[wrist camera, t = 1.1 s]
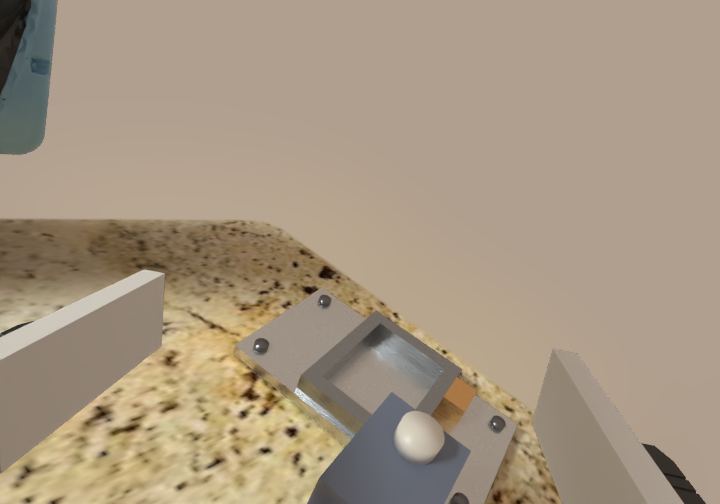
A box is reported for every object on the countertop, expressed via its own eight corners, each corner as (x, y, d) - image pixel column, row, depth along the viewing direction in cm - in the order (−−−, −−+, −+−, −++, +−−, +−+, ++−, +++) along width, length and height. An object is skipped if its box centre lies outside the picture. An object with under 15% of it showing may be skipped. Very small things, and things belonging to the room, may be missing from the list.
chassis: (233, 353, 39) (238, 329, 37) (319, 294, 48) (326, 274, 47) (464, 543, 32) (482, 523, 30) (512, 431, 41) (527, 411, 40)
